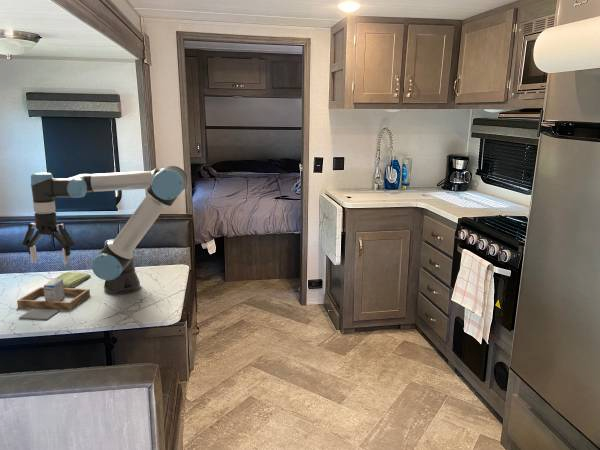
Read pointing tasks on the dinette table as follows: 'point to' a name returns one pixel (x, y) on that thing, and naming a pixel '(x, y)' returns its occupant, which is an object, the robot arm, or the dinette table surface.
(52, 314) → the mat
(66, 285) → the washcloth
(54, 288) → the medicine box
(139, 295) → the dinette table surface
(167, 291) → the dinette table surface
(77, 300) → the wooden frame
